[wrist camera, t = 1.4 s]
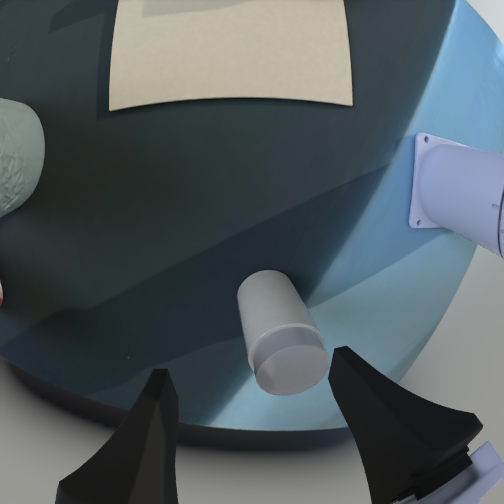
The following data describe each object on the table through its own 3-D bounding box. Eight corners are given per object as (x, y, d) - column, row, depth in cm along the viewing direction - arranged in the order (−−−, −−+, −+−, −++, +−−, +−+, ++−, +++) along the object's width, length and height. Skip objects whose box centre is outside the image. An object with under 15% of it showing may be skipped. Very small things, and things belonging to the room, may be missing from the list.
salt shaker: (295, 267, 20) (340, 335, 12) (292, 316, 21) (326, 390, 14) (235, 271, 19) (251, 348, 12) (238, 321, 21) (252, 402, 14)
